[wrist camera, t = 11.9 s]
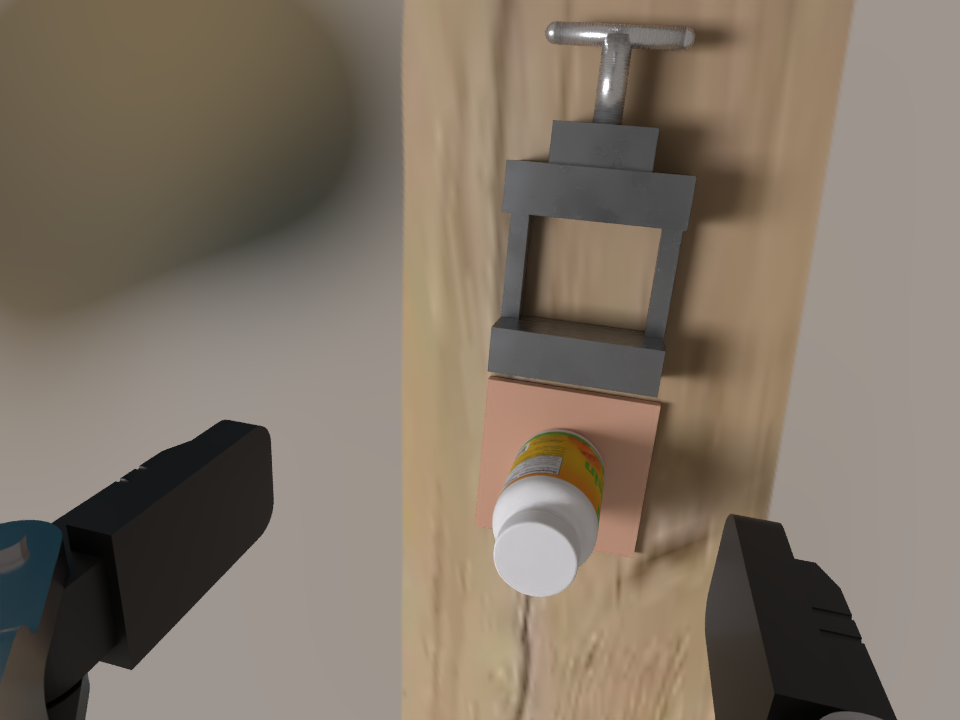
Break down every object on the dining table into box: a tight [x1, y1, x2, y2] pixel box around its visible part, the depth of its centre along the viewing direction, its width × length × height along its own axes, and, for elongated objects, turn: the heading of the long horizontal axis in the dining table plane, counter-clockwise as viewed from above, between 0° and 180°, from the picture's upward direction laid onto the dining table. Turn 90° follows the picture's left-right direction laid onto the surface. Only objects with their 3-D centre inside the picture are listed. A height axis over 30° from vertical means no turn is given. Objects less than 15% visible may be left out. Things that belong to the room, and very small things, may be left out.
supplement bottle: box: [492, 429, 605, 597], centre depth 34 cm, size 5×5×10 cm
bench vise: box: [488, 21, 697, 397], centre depth 33 cm, size 18×9×4 cm, turn 175°
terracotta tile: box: [475, 376, 661, 558], centre depth 39 cm, size 10×10×1 cm
